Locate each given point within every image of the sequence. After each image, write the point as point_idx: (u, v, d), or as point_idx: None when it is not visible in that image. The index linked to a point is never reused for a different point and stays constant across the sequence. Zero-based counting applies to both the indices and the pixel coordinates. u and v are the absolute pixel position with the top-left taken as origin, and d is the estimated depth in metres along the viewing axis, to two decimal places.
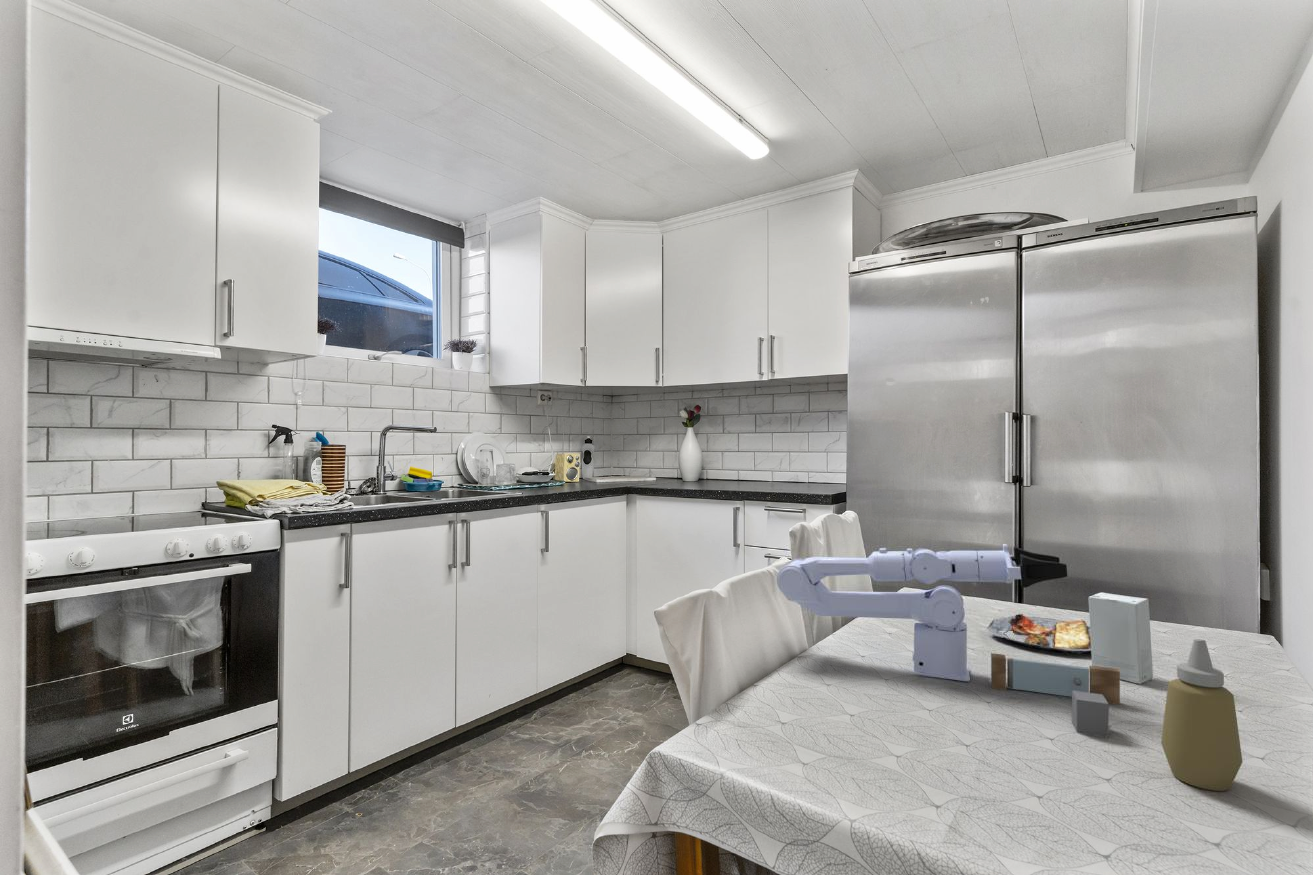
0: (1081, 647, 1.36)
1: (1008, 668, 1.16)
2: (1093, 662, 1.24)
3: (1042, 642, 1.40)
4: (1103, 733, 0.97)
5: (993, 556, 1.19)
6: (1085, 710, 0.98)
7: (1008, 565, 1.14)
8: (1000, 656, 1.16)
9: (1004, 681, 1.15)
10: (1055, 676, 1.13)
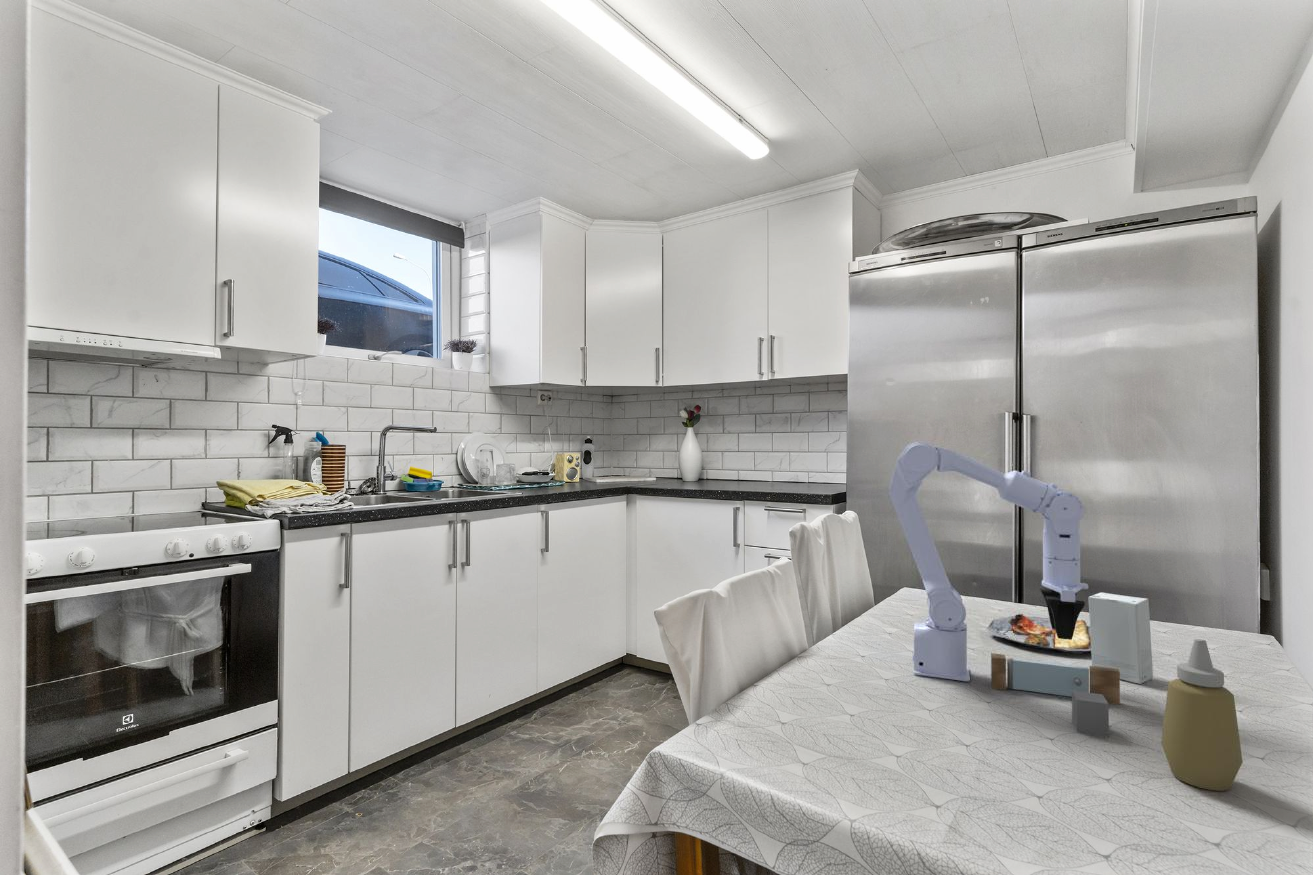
0: (1081, 647, 1.36)
1: (1008, 668, 1.16)
2: (1093, 662, 1.24)
3: (1042, 642, 1.40)
4: (1103, 733, 0.97)
5: (1076, 575, 1.15)
6: (1085, 710, 0.98)
7: (1074, 590, 1.11)
8: (1000, 656, 1.16)
9: (1004, 681, 1.15)
10: (1055, 676, 1.13)
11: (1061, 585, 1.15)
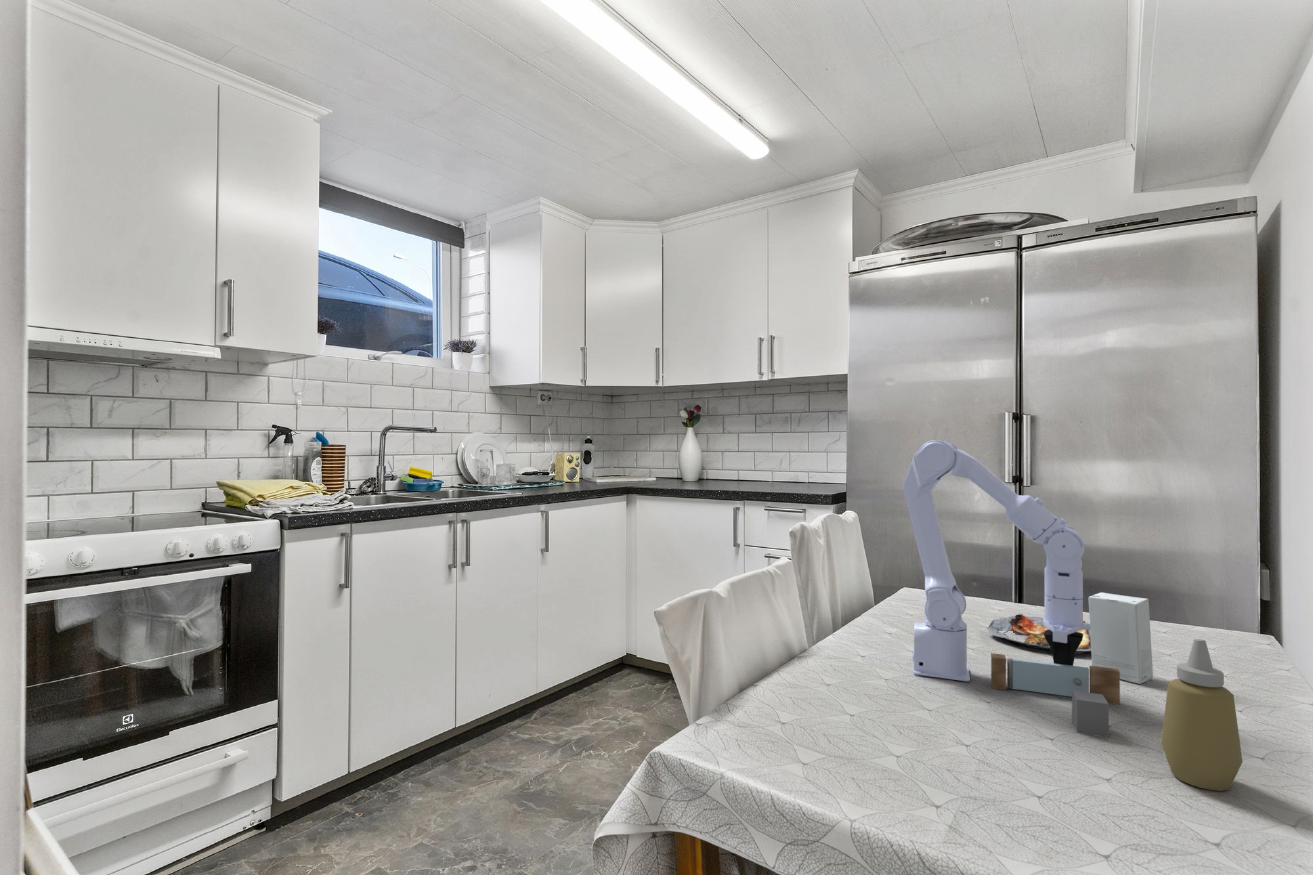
0: (1081, 647, 1.36)
1: (1008, 668, 1.16)
2: (1093, 662, 1.24)
3: (1042, 642, 1.40)
4: (1103, 733, 0.97)
5: (1076, 615, 1.11)
6: (1085, 710, 0.98)
7: (1068, 631, 1.09)
8: (1000, 656, 1.16)
9: (1004, 681, 1.15)
10: (1055, 676, 1.13)
11: (1059, 624, 1.12)
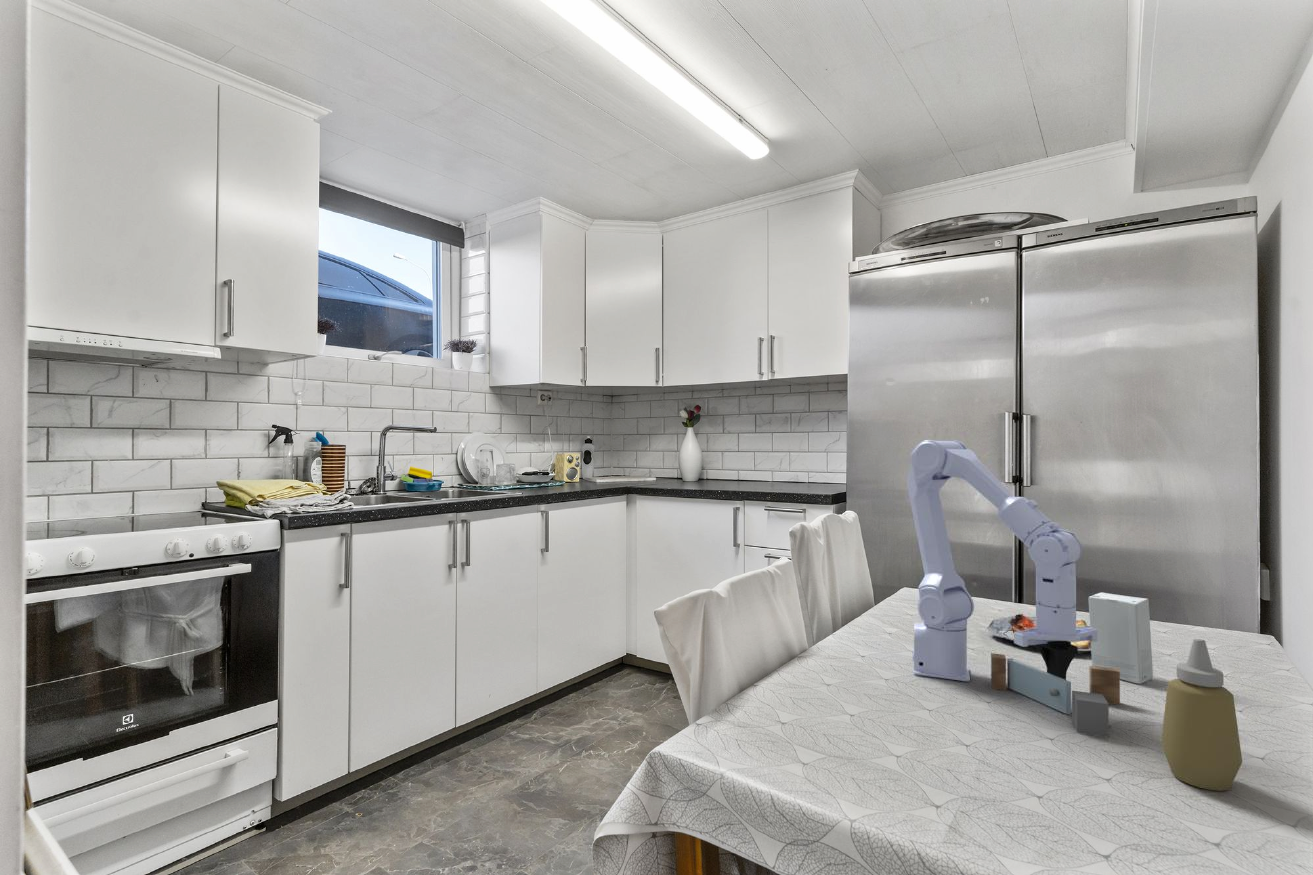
0: (1081, 647, 1.36)
1: (1007, 667, 1.16)
2: (1093, 662, 1.24)
3: None
4: (1103, 733, 0.97)
5: (1055, 623, 1.06)
6: (1085, 710, 0.98)
7: (1030, 636, 1.06)
8: (1000, 656, 1.16)
9: (1004, 681, 1.15)
10: (1040, 683, 1.09)
11: (1038, 631, 1.08)
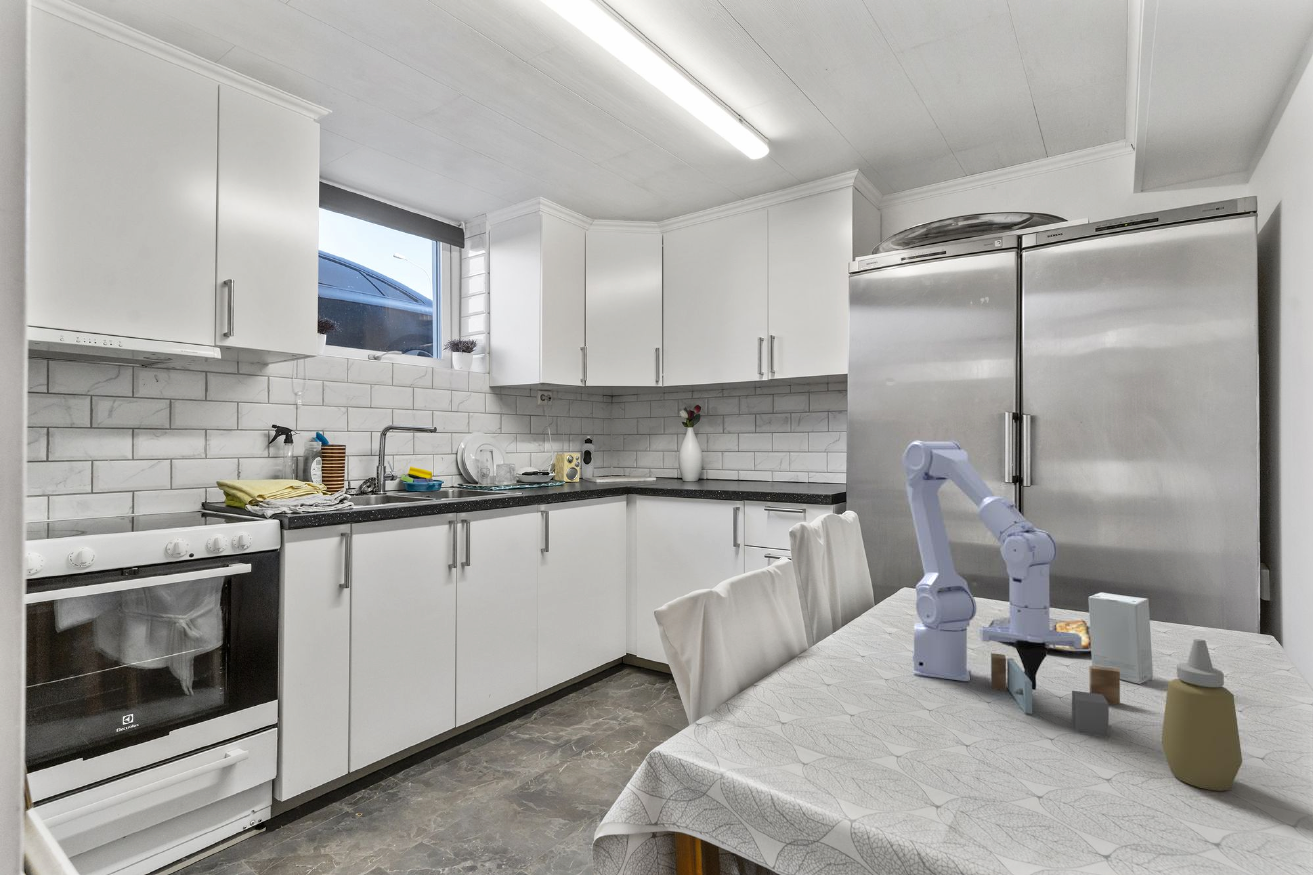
0: None
1: None
2: (1093, 662, 1.24)
3: None
4: (1103, 733, 0.97)
5: (1019, 623, 1.06)
6: (1085, 710, 0.98)
7: (991, 631, 1.08)
8: (1000, 656, 1.16)
9: (1004, 681, 1.15)
10: (1017, 683, 1.09)
11: (1008, 629, 1.09)
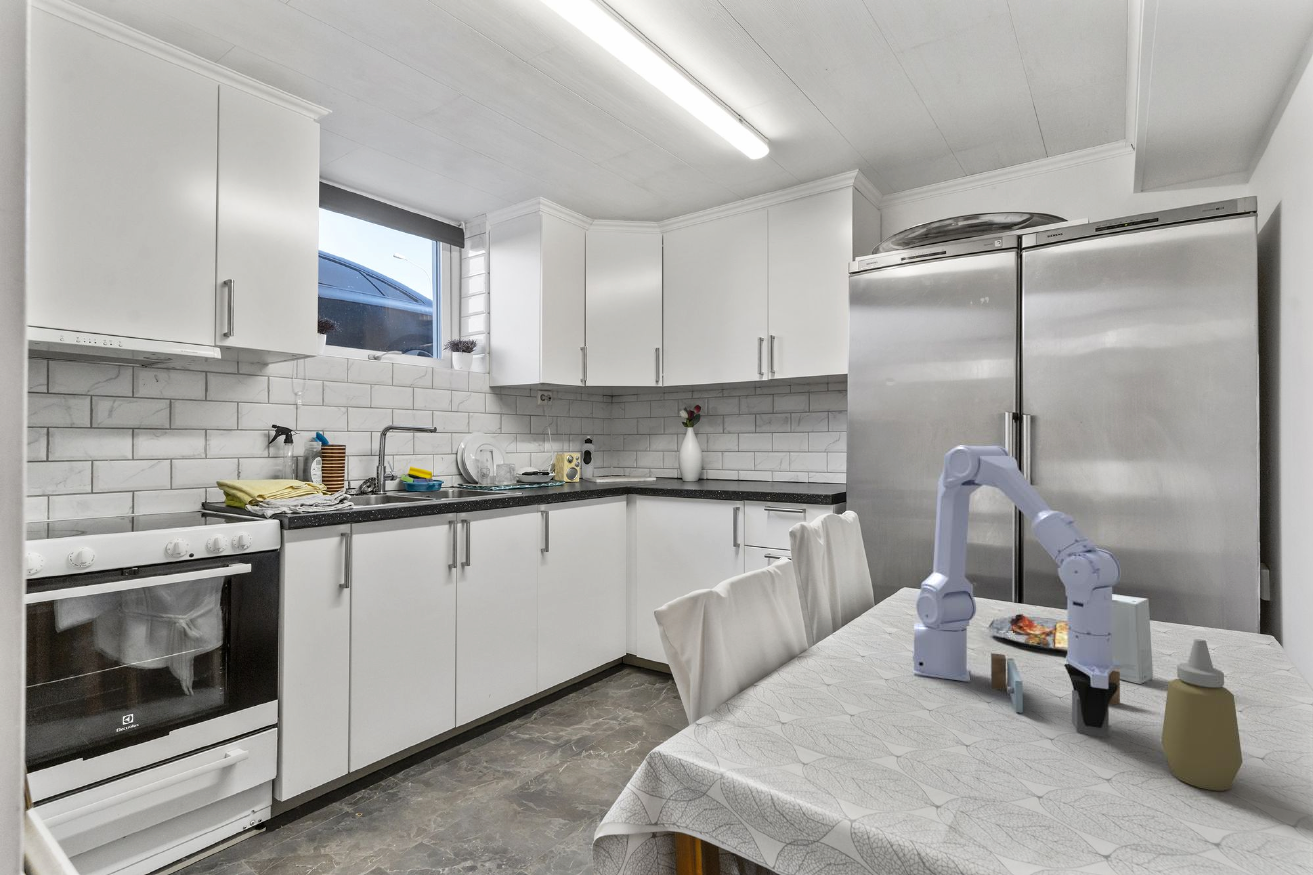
0: None
1: (1008, 667, 1.16)
2: None
3: (1042, 642, 1.40)
4: (1103, 733, 0.97)
5: (1108, 653, 0.97)
6: None
7: (1107, 674, 0.93)
8: (1000, 656, 1.16)
9: (1004, 681, 1.15)
10: (1011, 682, 1.10)
11: (1090, 665, 0.97)
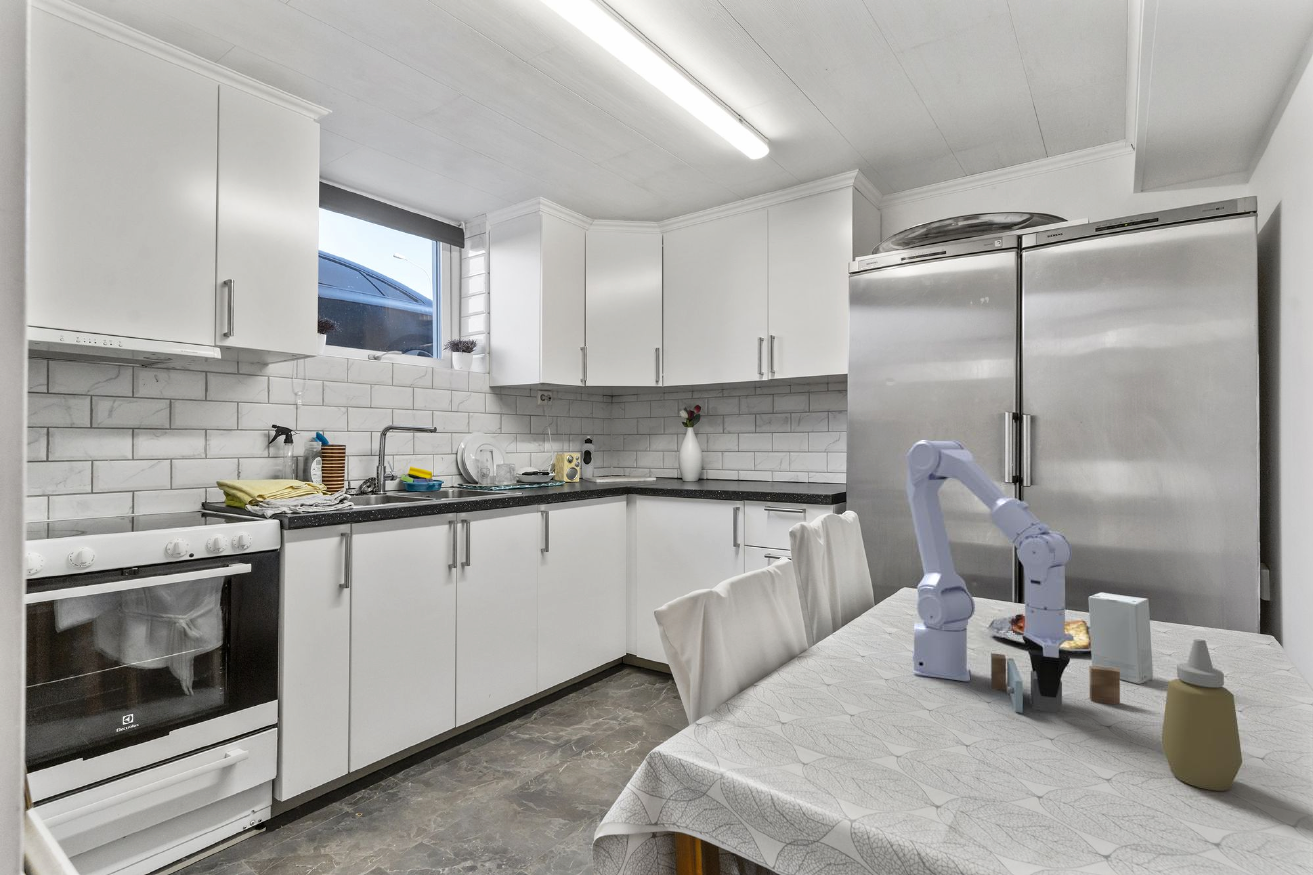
0: (1081, 647, 1.36)
1: (1008, 667, 1.16)
2: (1093, 662, 1.24)
3: None
4: (1057, 709, 1.06)
5: (1060, 626, 1.06)
6: None
7: (1058, 644, 1.02)
8: (1000, 656, 1.16)
9: (1004, 681, 1.15)
10: (1011, 682, 1.10)
11: (1044, 637, 1.06)
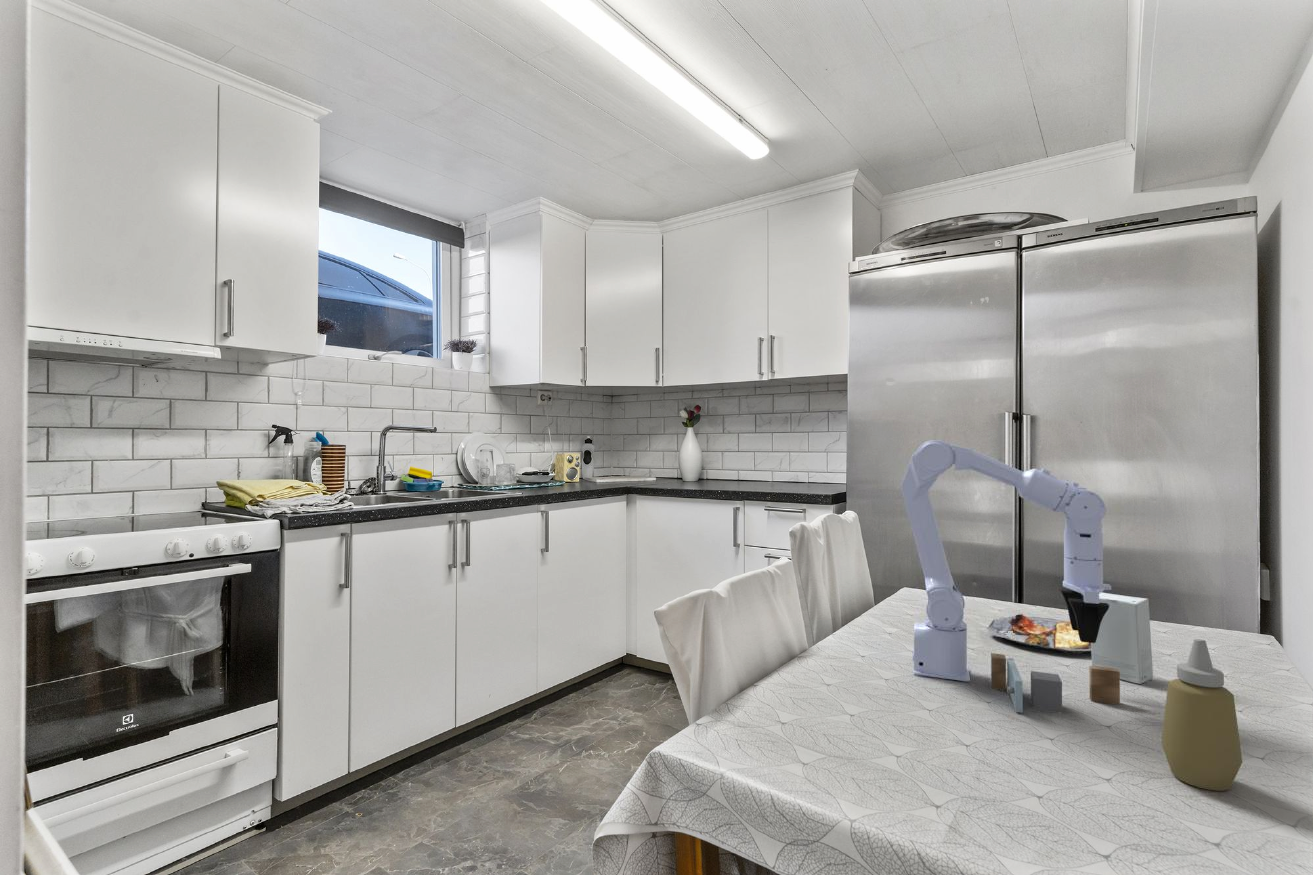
0: (1081, 647, 1.36)
1: (1008, 667, 1.16)
2: (1093, 662, 1.24)
3: (1042, 642, 1.40)
4: (1057, 709, 1.06)
5: (1099, 576, 1.11)
6: (1041, 688, 1.07)
7: (1098, 591, 1.08)
8: (1000, 656, 1.16)
9: (1004, 681, 1.15)
10: (1011, 682, 1.10)
11: (1083, 586, 1.12)
